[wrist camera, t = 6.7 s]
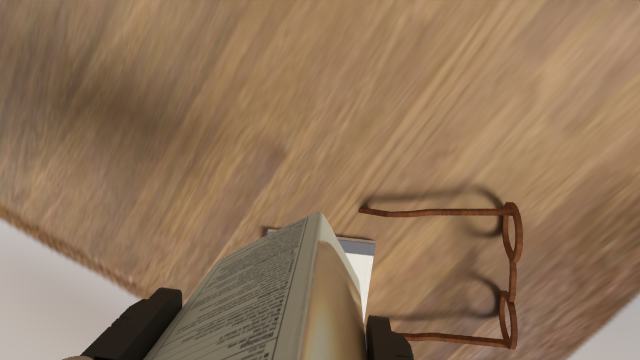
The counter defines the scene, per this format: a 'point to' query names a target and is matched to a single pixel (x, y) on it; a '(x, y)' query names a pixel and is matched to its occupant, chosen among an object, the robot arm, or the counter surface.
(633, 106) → the counter surface
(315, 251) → the skincare box
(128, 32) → the counter surface
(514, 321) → the glasses
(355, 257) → the board
